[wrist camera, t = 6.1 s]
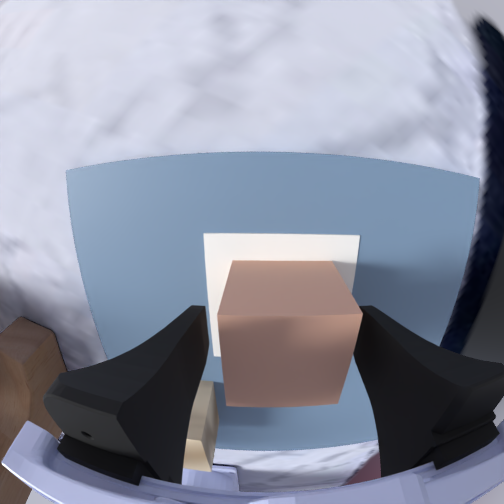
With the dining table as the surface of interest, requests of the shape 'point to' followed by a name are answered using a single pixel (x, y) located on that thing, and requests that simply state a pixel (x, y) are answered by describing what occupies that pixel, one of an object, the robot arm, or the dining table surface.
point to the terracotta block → (286, 333)
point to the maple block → (202, 429)
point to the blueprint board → (269, 257)
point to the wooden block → (24, 392)
